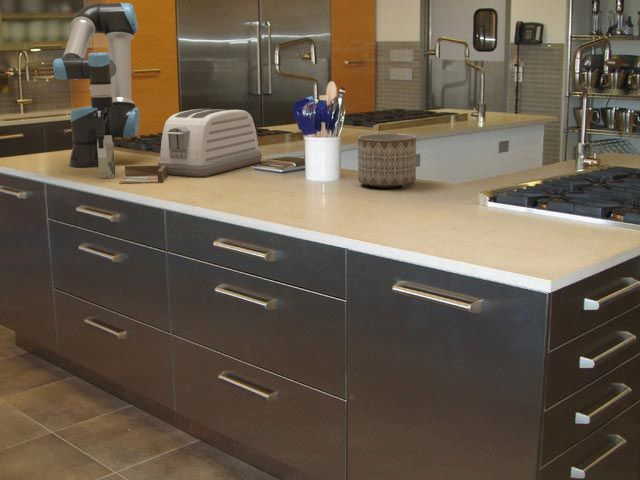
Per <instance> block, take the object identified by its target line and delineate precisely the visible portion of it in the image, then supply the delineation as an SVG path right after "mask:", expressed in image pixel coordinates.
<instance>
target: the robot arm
mask: <svg viewBox="0 0 640 480" xmlns="http://www.w3.org/2000/svg"><path fill="white" fill-rule="evenodd" d="M138 23H139V22H138V19H137V14H136V10H135V7H134V5H133V4H132V3H127V2H116V3H115V2H112V3H110V2H109V3H106V2H105V3H91V4H88V5H86V6H84V7H83V8H82V9H80V10H79V11H78V12H77V13H76V14H75V15H74V17H72V20H71V22H70V31H71V32H70V33H69V37H68V41H67V44H66V47H65V49H64V53H63V56H62V58H61V57H59V58H56V59H54V60H53V63H52V69H53V75H54V77H55V79H57V80H65V81H66V80H84V79H85V80H89V84H90V85H89V87H88V90H90V96H92V97H91V98H90V104H91V105H88V106H83V107H78V108H74V109H72V110H71V111H70V127H71V128H70V129H71V137H72V149H71V153H70V159H69V166H70V167H74V168H94V167H99V164H98V158H105V157H106V145H105V142H113V139H118V138H119V139H120V138H121V139H127V138H134V137H136V136H137V135H138V133H139V130H140V122H141V115H140V114H141V113H140V112H141V111H140V108H138V107H136V103H135V102H134V101H133V100H132V59H131V58H132V57H131V54H132V53H131V43H132V42H131V41H133V40H134V39H135V34H137V33H138V32H139V25H138ZM95 34H104V38H105V39H106V40H107V41H108V52H90V53H88V55H87V58H85V57H86V54H87V51H88V48H89V45H90V40H91V38H92V37H93V36H94V35H95ZM97 146H98V151H97Z"/></svg>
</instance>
